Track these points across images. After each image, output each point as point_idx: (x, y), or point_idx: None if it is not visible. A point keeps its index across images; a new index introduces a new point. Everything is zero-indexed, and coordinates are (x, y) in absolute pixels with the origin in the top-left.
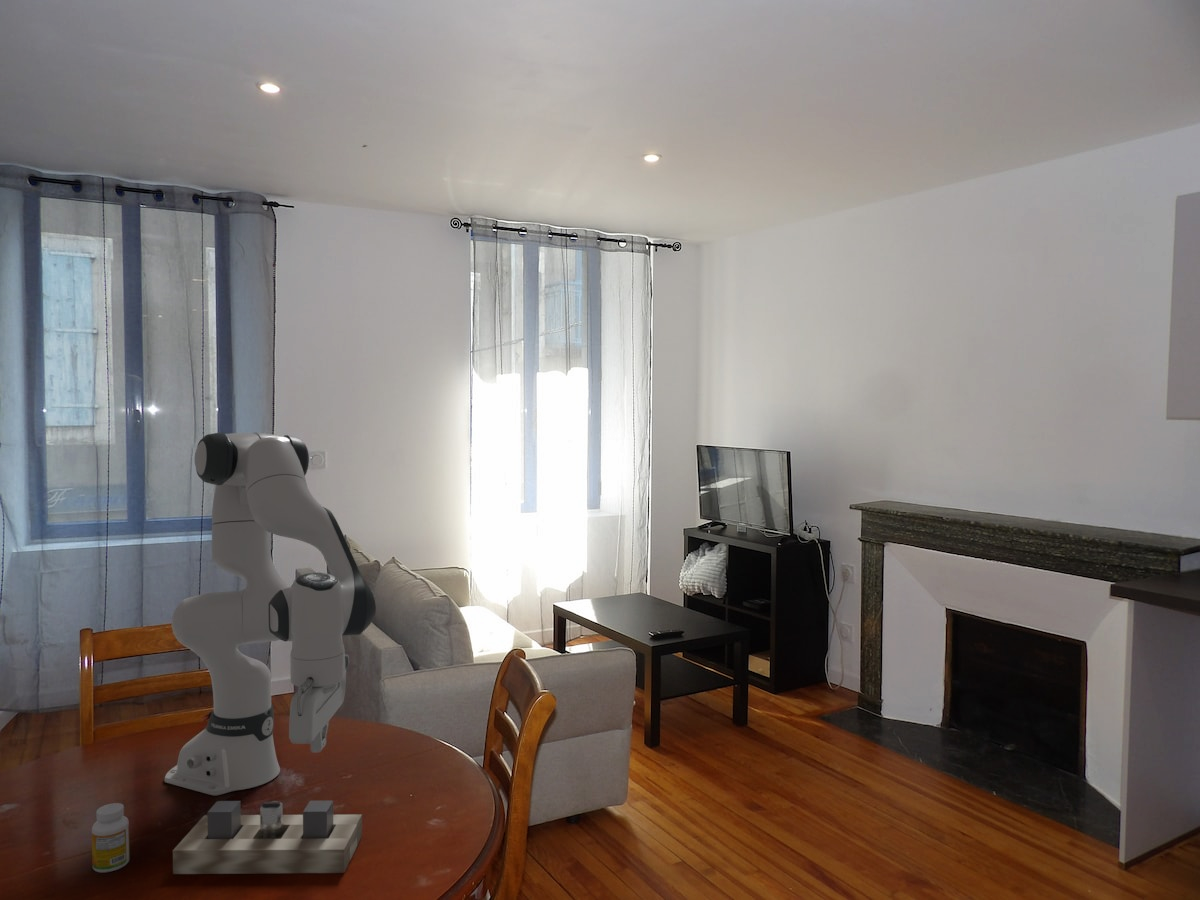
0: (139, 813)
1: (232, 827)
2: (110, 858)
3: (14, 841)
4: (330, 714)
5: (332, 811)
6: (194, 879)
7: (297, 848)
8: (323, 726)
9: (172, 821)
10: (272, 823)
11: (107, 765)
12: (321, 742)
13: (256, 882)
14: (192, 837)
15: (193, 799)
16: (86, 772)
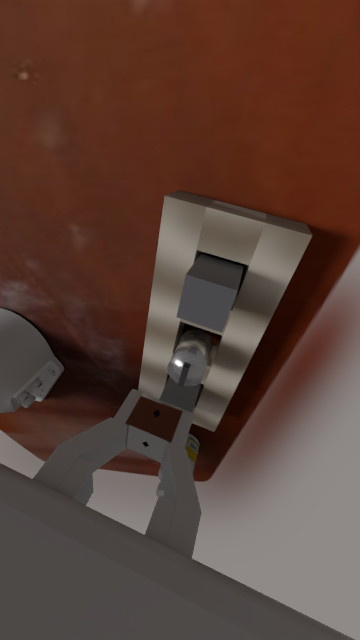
0: (98, 416)
1: (194, 394)
2: (196, 454)
3: (137, 472)
4: (46, 545)
5: (198, 268)
6: (237, 395)
7: (266, 316)
8: (211, 589)
9: (113, 399)
10: (207, 358)
11: (24, 423)
12: (181, 444)
13: (273, 345)
14: None
15: (71, 382)
16: (37, 434)
